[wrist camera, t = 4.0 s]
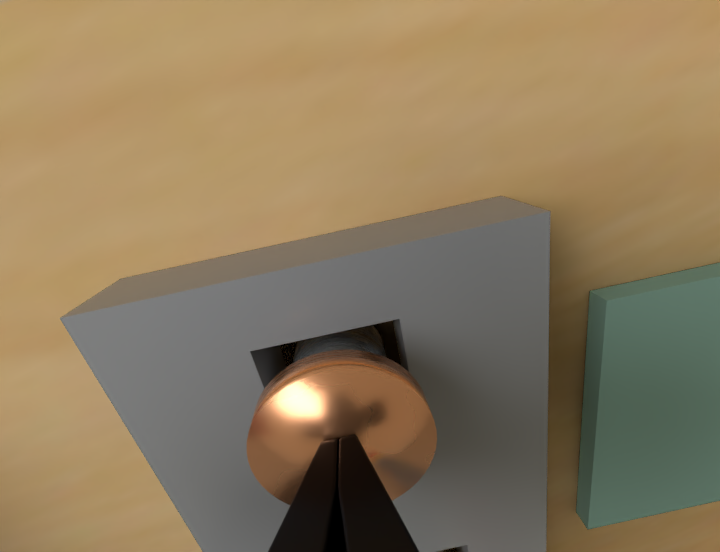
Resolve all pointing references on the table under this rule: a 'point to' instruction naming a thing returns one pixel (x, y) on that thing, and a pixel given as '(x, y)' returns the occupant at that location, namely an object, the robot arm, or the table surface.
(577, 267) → the table surface
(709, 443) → the rubber mat
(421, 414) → the button
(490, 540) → the grey board with holes
